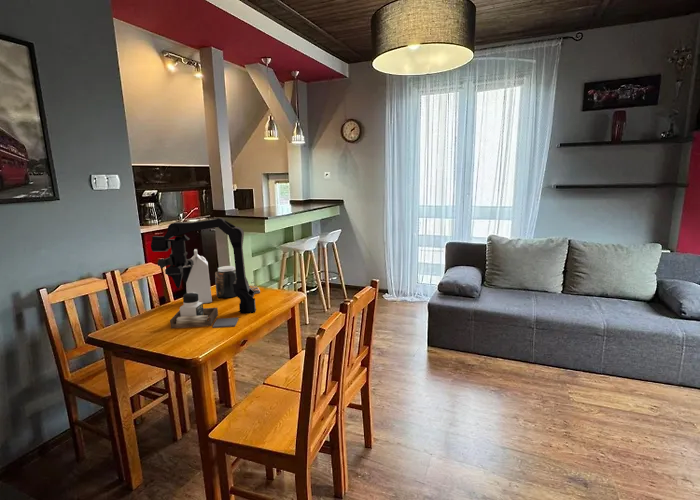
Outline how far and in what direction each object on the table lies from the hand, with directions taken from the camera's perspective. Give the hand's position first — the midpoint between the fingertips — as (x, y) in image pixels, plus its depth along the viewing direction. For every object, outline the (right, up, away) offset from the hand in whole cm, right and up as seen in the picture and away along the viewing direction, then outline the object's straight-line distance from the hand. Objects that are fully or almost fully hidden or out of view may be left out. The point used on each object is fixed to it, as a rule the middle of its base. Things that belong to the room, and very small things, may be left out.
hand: (181, 285), depth 166 cm
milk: (-2, -10, +24) cm, 26 cm away
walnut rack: (+8, -15, -6) cm, 18 cm away
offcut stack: (+9, -16, -10) cm, 21 cm away
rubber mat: (+22, -15, -8) cm, 28 cm away
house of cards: (+23, -8, +38) cm, 45 cm away
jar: (+10, -8, +33) cm, 35 cm away
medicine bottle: (+7, -15, -4) cm, 17 cm away
